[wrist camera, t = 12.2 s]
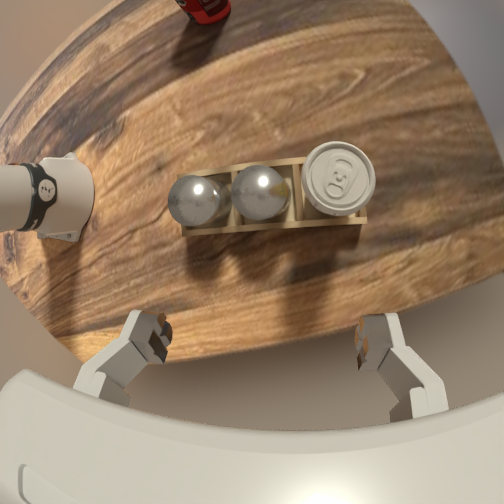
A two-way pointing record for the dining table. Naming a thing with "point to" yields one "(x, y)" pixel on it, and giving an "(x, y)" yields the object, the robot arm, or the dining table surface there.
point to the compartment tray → (293, 217)
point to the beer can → (338, 178)
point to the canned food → (205, 10)
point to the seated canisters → (229, 197)
